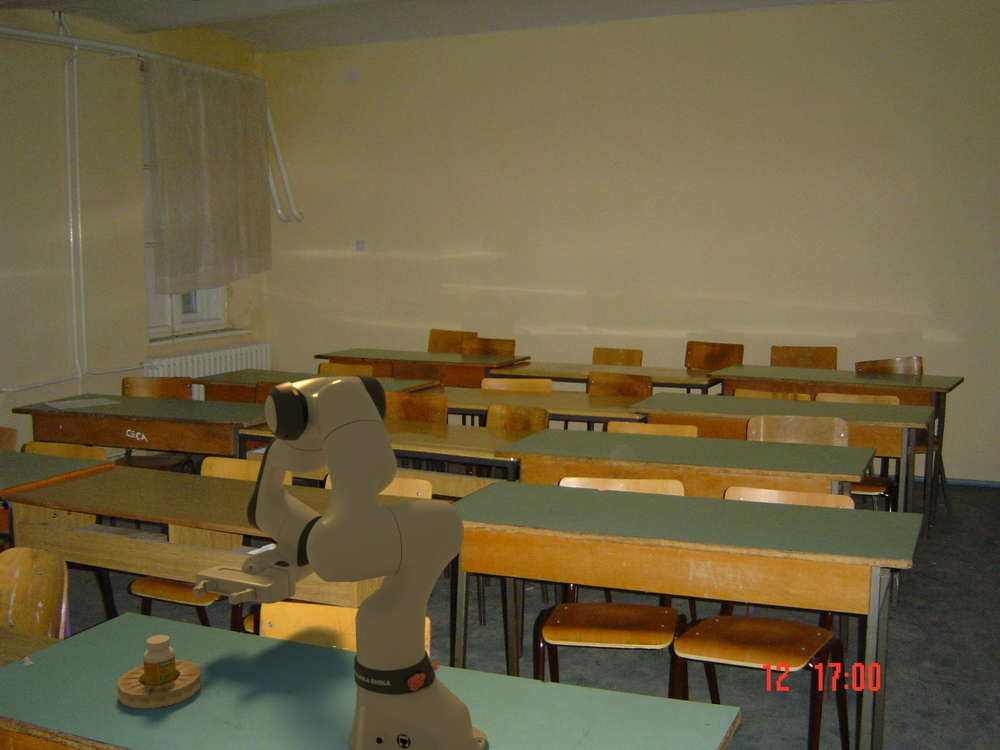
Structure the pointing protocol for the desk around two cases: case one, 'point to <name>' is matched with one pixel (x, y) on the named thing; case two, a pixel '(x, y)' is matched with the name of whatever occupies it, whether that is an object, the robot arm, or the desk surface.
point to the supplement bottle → (159, 661)
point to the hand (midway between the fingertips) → (213, 596)
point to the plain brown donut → (158, 687)
